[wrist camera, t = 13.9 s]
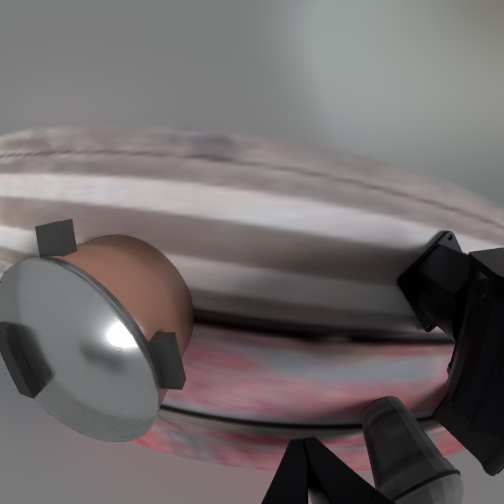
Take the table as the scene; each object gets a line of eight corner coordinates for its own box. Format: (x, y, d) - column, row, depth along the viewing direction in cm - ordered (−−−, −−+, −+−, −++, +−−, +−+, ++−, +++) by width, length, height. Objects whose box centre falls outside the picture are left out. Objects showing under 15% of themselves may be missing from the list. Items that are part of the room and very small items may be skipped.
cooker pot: (191, 199, 19) (146, 207, 11) (218, 386, 22) (204, 456, 15) (53, 221, 20) (-15, 238, 12) (95, 377, 23) (56, 427, 15)
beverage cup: (370, 381, 22) (453, 570, 2) (424, 388, 22) (512, 530, 3) (335, 432, 24) (373, 601, 4) (389, 435, 24) (442, 573, 4)
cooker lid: (131, 246, 12) (109, 257, 10) (184, 443, 14) (178, 466, 12) (-14, 262, 12) (-34, 270, 10) (44, 413, 15) (32, 427, 13)
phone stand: (431, 414, 23) (474, 484, 12) (459, 372, 22) (516, 439, 10) (472, 412, 24) (512, 466, 12) (496, 375, 22) (545, 426, 11)
